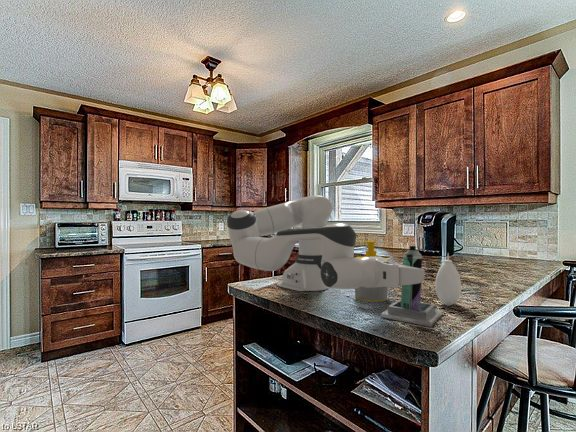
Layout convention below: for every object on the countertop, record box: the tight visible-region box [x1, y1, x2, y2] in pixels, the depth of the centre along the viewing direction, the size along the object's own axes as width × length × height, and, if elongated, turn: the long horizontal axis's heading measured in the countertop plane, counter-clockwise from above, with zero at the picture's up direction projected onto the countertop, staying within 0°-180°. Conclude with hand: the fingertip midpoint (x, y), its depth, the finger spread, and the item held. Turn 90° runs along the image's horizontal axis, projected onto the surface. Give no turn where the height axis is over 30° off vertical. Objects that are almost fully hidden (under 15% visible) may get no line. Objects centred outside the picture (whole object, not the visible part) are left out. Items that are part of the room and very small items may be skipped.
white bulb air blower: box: [434, 252, 462, 306], centre depth 113 cm, size 8×8×18 cm
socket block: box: [380, 298, 443, 327], centre depth 100 cm, size 14×14×3 cm
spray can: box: [400, 245, 423, 311], centre depth 100 cm, size 6×6×20 cm
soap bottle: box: [354, 240, 390, 303], centre depth 122 cm, size 13×13×21 cm
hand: (414, 269), depth 100 cm, fingers closed on spray can, 5 cm apart
